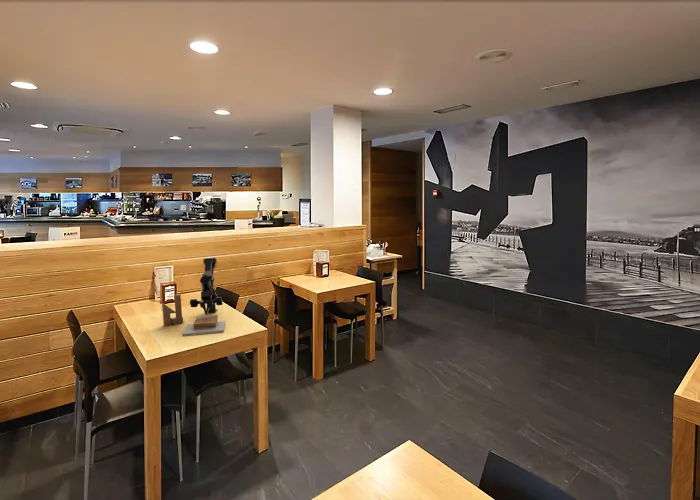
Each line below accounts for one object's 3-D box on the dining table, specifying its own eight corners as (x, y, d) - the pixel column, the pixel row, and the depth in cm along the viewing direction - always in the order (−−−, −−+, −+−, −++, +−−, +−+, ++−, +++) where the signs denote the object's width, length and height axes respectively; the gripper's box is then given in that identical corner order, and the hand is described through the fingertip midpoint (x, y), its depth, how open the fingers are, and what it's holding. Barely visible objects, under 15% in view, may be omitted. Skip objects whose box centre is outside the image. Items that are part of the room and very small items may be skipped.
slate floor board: (187, 325, 242) (187, 323, 242) (225, 322, 247) (225, 320, 247) (182, 335, 225) (182, 333, 224) (223, 332, 230) (223, 329, 230)
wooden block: (163, 325, 245) (161, 296, 242) (181, 321, 251) (179, 293, 249) (165, 326, 242) (162, 297, 239) (183, 322, 248) (181, 294, 246)
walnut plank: (196, 316, 245) (193, 324, 232) (217, 315, 248) (215, 322, 234) (197, 321, 246) (194, 329, 232) (217, 319, 248) (215, 327, 235)
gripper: (189, 286, 243) (187, 308, 234) (221, 284, 248) (220, 306, 238) (191, 296, 252) (190, 318, 243) (222, 293, 256) (222, 315, 247)
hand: (206, 314), depth 243 cm, fingers closed
